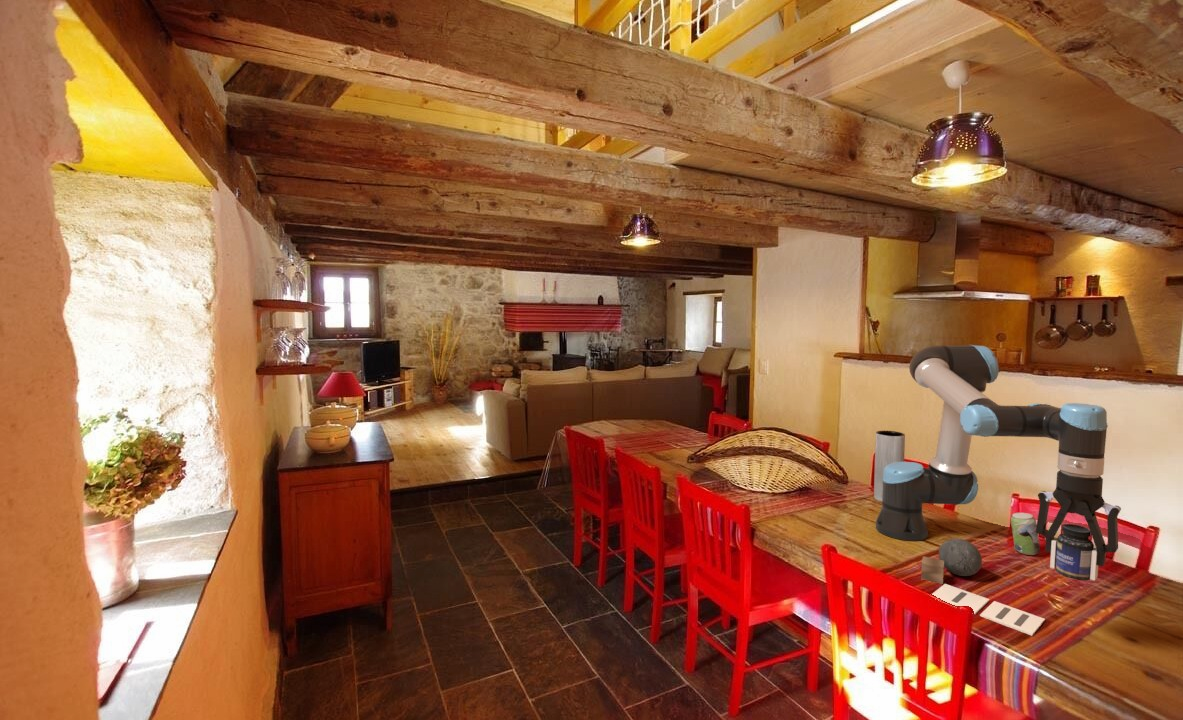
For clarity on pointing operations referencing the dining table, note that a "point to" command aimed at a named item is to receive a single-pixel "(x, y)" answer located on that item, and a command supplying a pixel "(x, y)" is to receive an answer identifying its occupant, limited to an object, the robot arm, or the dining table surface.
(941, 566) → the walnut block
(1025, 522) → the beverage can
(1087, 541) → the pill bottle
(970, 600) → the coaster
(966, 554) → the decorative ball
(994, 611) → the coaster
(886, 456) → the vase
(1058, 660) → the dining table surface
